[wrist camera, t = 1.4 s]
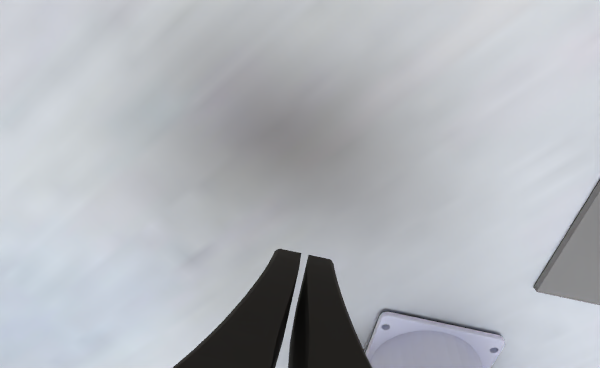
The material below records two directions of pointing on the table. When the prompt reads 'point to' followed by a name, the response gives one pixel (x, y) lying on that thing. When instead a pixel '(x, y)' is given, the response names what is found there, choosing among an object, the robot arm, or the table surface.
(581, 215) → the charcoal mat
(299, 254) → the robot arm
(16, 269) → the table surface
